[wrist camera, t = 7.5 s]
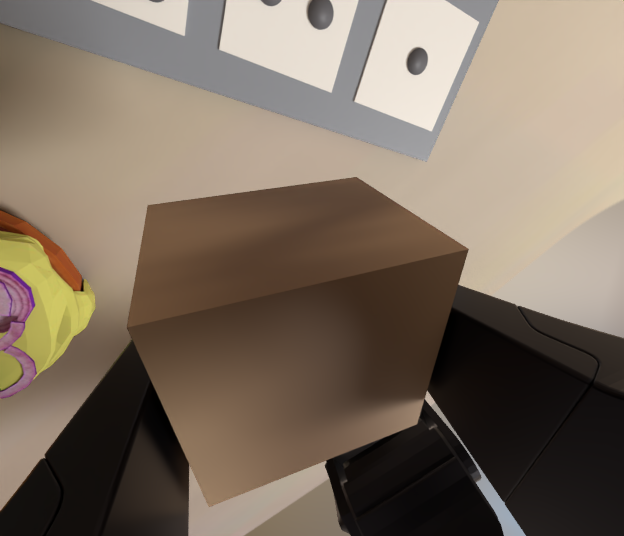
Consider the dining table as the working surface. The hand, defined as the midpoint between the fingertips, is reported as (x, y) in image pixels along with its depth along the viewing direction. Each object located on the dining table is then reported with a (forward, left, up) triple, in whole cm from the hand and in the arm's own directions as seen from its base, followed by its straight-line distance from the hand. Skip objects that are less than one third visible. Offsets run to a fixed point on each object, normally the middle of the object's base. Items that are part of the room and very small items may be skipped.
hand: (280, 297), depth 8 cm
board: (-1, -8, -11) cm, 14 cm away
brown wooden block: (0, 0, -1) cm, 1 cm away
